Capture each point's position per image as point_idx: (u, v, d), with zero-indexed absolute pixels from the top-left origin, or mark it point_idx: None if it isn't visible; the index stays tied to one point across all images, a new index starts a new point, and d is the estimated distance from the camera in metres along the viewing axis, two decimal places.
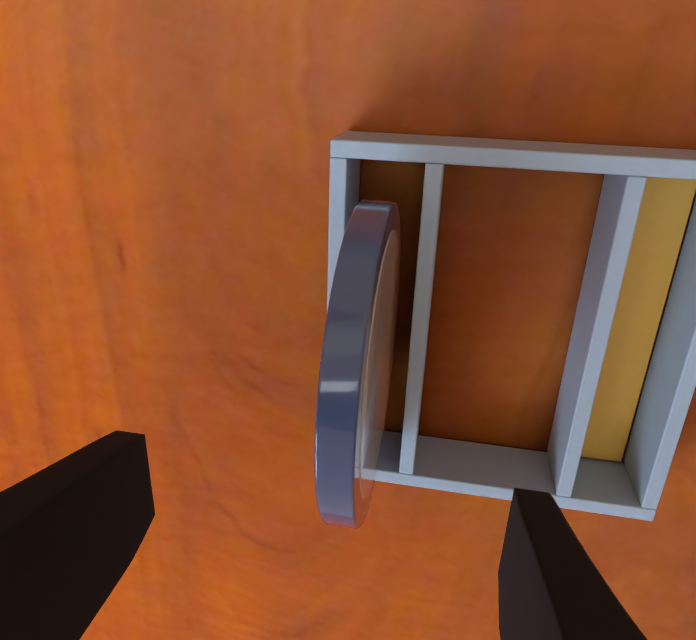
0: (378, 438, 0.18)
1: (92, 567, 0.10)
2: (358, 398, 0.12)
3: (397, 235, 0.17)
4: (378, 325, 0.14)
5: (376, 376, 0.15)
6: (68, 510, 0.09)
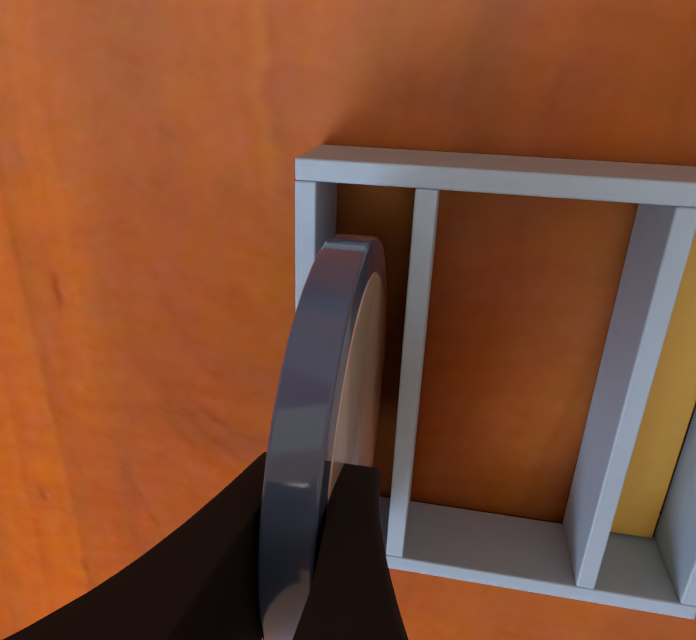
0: None
1: None
2: (316, 525, 0.09)
3: (381, 275, 0.14)
4: (351, 404, 0.11)
5: None
6: (250, 541, 0.09)
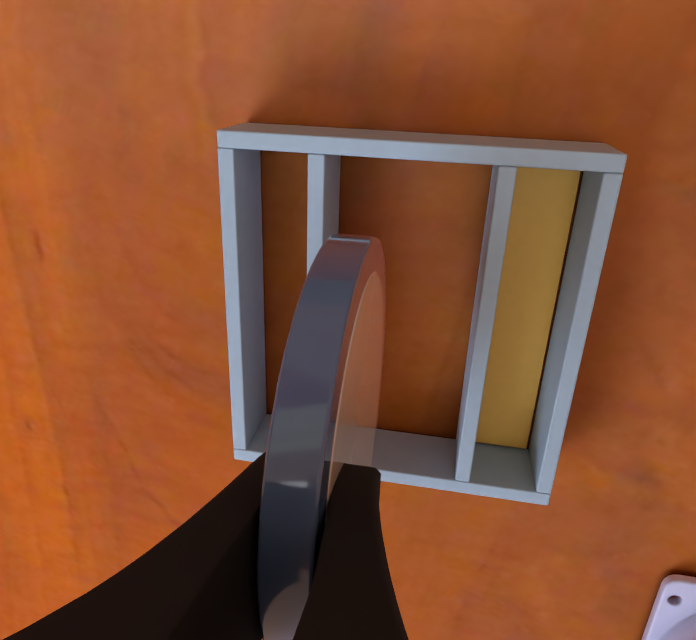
0: None
1: None
2: (315, 525, 0.09)
3: (380, 275, 0.14)
4: (350, 404, 0.11)
5: None
6: (250, 541, 0.09)
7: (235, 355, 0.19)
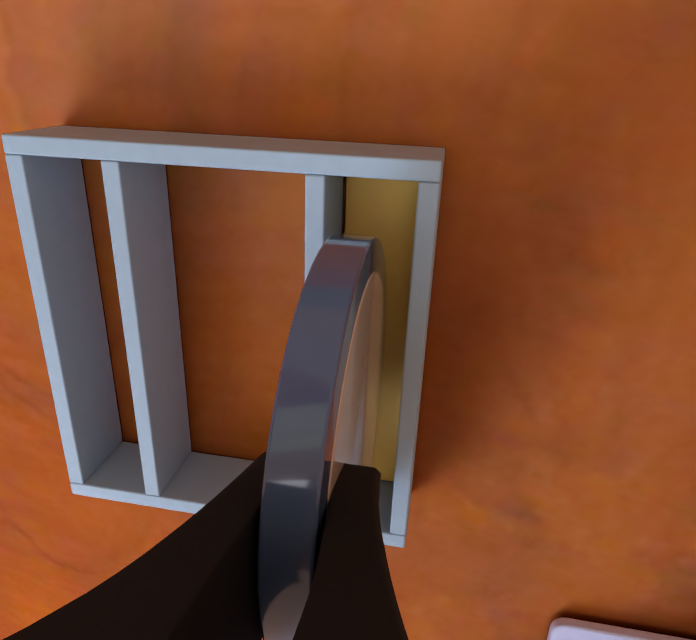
0: None
1: None
2: (316, 525, 0.09)
3: (380, 275, 0.14)
4: (351, 403, 0.11)
5: None
6: (249, 540, 0.09)
7: (57, 382, 0.18)
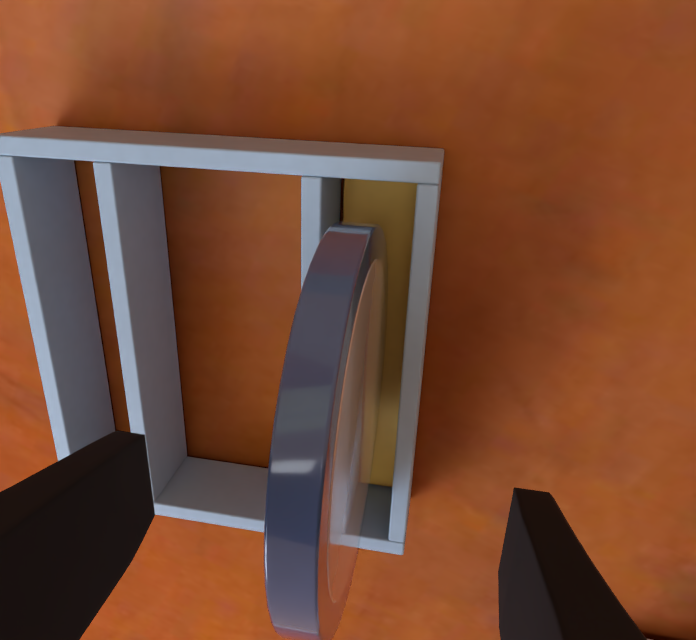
0: (359, 513, 0.14)
1: (92, 567, 0.10)
2: (322, 489, 0.09)
3: (383, 265, 0.14)
4: (355, 381, 0.11)
5: (353, 444, 0.12)
6: (68, 510, 0.09)
7: (50, 387, 0.17)
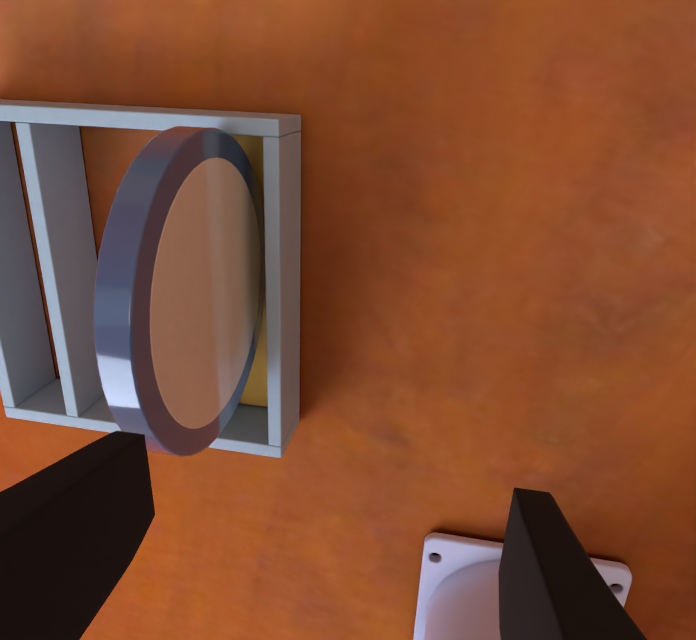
0: (217, 387, 0.17)
1: (92, 567, 0.10)
2: (138, 249, 0.12)
3: (250, 189, 0.18)
4: (196, 226, 0.14)
5: (198, 288, 0.15)
6: (68, 510, 0.09)
7: None
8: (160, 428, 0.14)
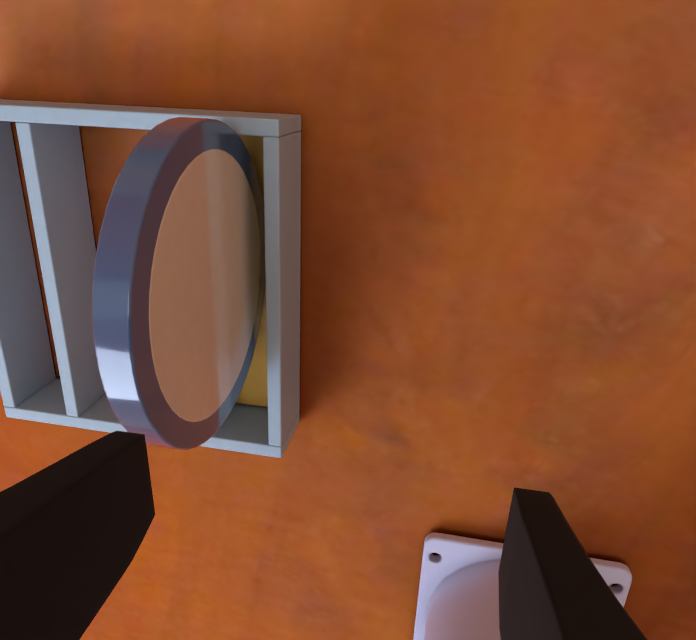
0: (215, 382, 0.17)
1: (92, 567, 0.10)
2: (139, 229, 0.12)
3: (251, 186, 0.18)
4: (197, 215, 0.14)
5: (197, 278, 0.15)
6: (68, 510, 0.09)
7: None
8: (157, 416, 0.14)
